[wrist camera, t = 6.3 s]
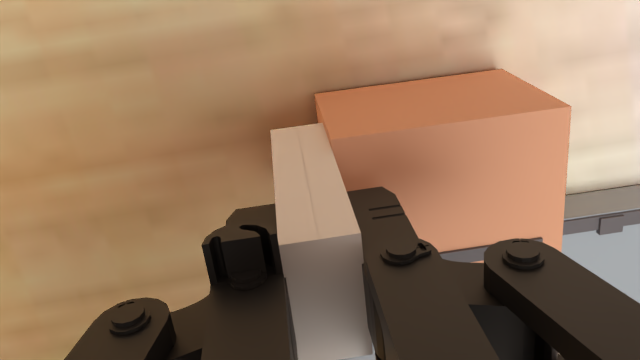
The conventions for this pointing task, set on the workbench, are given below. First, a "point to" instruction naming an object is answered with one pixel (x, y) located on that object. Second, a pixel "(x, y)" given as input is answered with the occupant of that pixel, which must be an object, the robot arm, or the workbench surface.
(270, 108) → the workbench surface
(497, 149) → the block
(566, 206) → the long grey bar
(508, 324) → the robot arm
